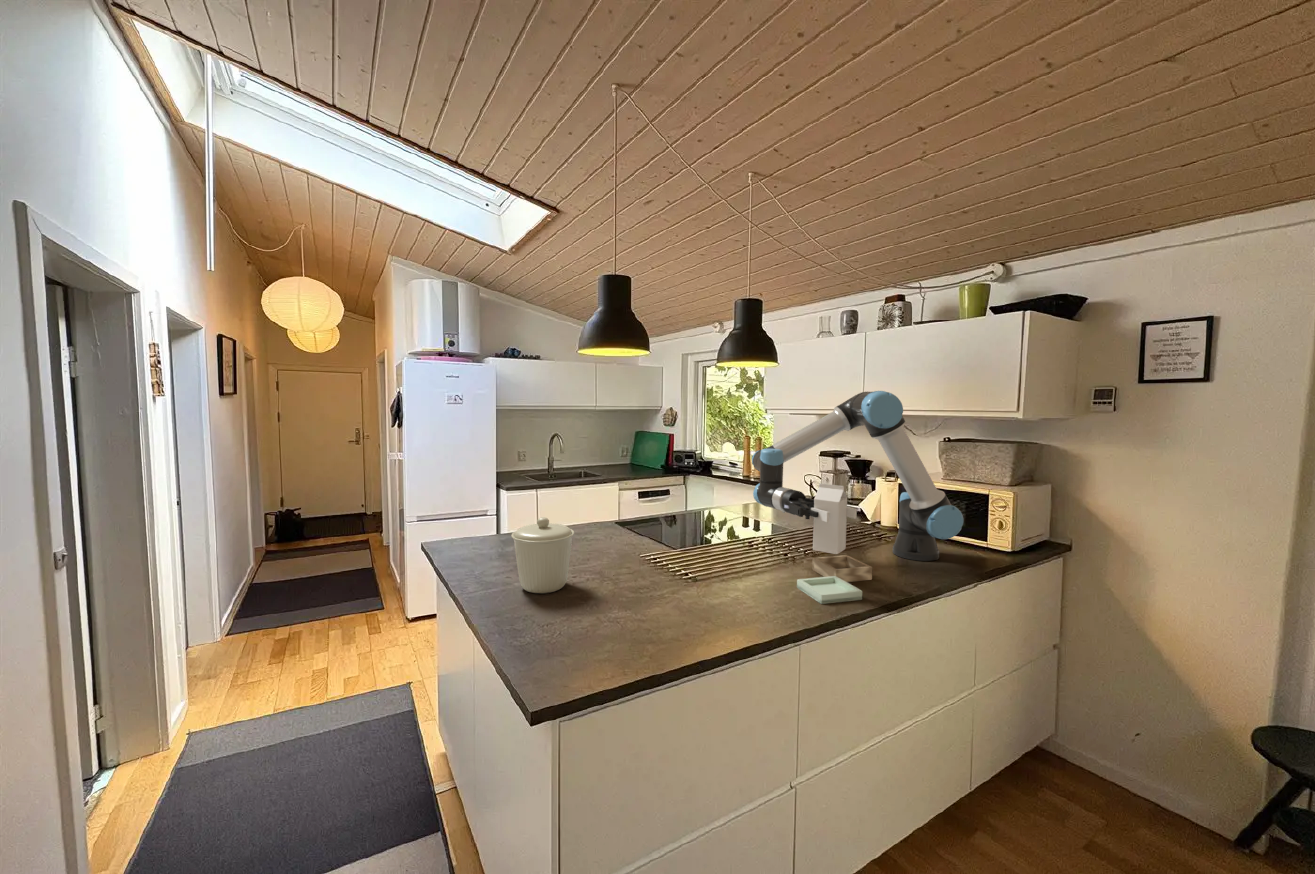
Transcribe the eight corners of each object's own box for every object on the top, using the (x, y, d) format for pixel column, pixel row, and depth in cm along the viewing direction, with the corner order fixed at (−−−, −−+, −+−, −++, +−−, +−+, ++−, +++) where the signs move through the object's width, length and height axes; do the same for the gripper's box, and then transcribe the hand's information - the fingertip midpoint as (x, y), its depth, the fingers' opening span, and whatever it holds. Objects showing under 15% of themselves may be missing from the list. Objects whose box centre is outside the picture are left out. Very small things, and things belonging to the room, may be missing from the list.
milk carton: (837, 555, 147) (839, 487, 146) (812, 550, 152) (814, 484, 150) (845, 549, 153) (847, 484, 152) (821, 545, 157) (823, 481, 156)
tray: (834, 583, 161) (835, 575, 161) (862, 599, 149) (862, 590, 148) (796, 587, 158) (797, 579, 158) (821, 604, 145) (821, 595, 145)
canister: (560, 601, 146) (560, 526, 145) (500, 596, 150) (499, 523, 148) (583, 579, 164) (582, 512, 162) (528, 575, 168) (527, 509, 166)
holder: (846, 566, 178) (846, 555, 177) (871, 579, 165) (872, 566, 165) (812, 569, 174) (812, 557, 174) (835, 583, 162) (835, 570, 162)
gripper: (816, 509, 173) (870, 524, 153) (760, 515, 163) (810, 532, 143) (817, 487, 172) (871, 499, 152) (761, 491, 163) (811, 505, 143)
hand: (842, 515), depth 148 cm, fingers closed on milk carton, 9 cm apart
